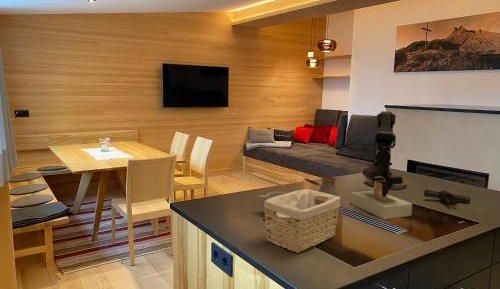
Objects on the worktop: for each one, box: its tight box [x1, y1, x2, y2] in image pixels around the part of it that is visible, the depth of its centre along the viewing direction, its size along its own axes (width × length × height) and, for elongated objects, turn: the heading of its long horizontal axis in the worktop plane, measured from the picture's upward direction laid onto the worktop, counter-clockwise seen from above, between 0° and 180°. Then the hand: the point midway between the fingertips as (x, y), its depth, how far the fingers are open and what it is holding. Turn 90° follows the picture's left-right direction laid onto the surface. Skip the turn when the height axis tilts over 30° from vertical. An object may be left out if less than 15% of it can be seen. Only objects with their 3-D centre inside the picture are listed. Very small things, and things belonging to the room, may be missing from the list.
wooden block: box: [373, 180, 389, 201], centre depth 157 cm, size 4×4×8 cm
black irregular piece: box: [423, 189, 471, 206], centre depth 166 cm, size 5×20×15 cm
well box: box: [350, 189, 413, 220], centre depth 158 cm, size 22×14×5 cm, turn 21°
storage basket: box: [263, 188, 341, 253], centre depth 124 cm, size 24×16×15 cm
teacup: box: [257, 191, 287, 208], centre depth 150 cm, size 14×11×8 cm
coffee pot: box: [301, 176, 342, 205], centre depth 156 cm, size 21×12×15 cm, turn 128°
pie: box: [364, 175, 408, 190], centre depth 200 cm, size 22×22×5 cm
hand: (380, 195), depth 158 cm, fingers closed on wooden block, 4 cm apart
